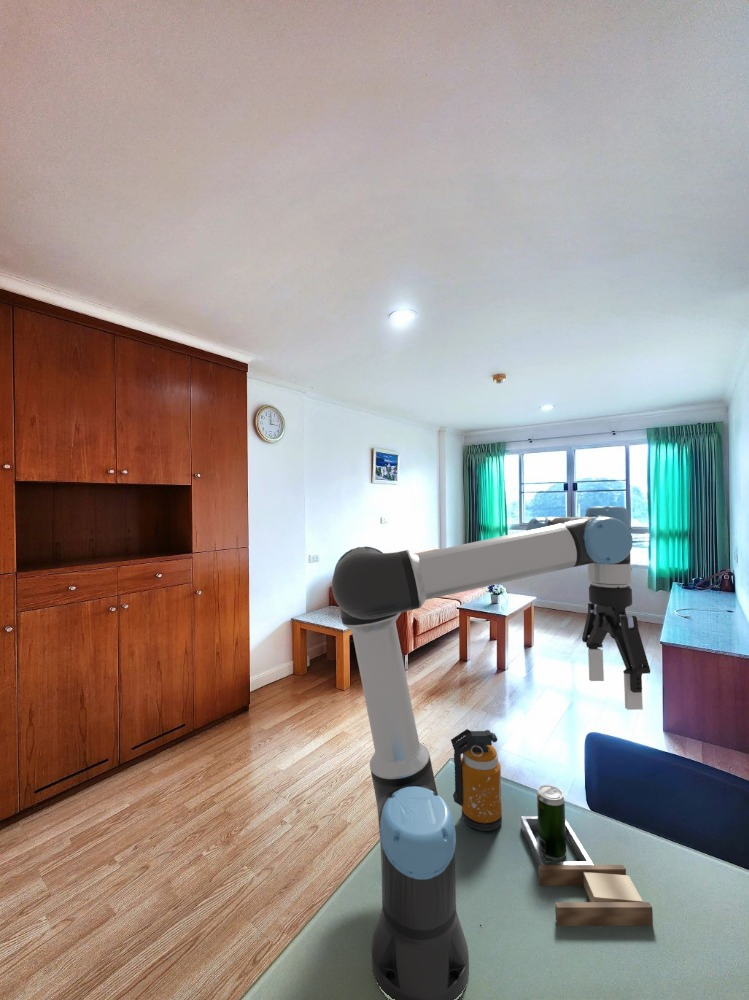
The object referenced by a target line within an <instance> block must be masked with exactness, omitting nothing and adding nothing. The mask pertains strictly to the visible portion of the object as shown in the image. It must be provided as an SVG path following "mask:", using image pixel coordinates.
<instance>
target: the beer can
mask: <svg viewBox="0 0 749 1000" xmlns="http://www.w3.org/2000/svg"><path fill="white" fill-rule="evenodd" d="M563 793H564V792H563V791H562V790H561V789H560V788H558V787H557V786H555V785H550V784H542V785H540V786H539V787H538V788H537V793H536V805H537V806H536V807H537V809H536V810H537V811H536V812H537V816H538V830H537V833H538V834H537V835H538V837H537V838H538V846H539V848H540V850H541V852H542V854H543V856H544V857H545V858H548V859H550V860H552V861H560V860H563V859H565V856H566V854H567V838H566V828H565V819H566V807H565V806H566V804H565V802H566V801H565V798H564V794H563Z"/></svg>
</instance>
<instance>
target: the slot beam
mask: <svg viewBox="0 0 749 1000" xmlns="http://www.w3.org/2000/svg"><path fill="white" fill-rule="evenodd" d="M537 866H538V883H539V885H540V886H541V887H542V886H543V887H567V886H568V887H570V886H571V887H584V875H583V872H592V873H604V874H617V875H627V869H626V866H625V865H624V864H593V865H538V864H537ZM554 909H555V910H554V912H555V922H556V924H557V927H561V926H562V927H565V926H567V927H572V926H573V927H574V926H575V927H576V926H578V927H579V926H580V927H581V926H583V927H586V926H587V927H589V926H590V927H596V926H597V927H598V926H600V927H601V926H603V927H609V926H610V927H611V926H615V927H616V926H617V927H618V926H619V927H620V926H622V927H624V926H625V927H628V926H629V927H636V926H637V927H640V926H641V927H643V926H644V927H645V926H647V927H649V926H650V927H651V926H654V920H653V919H654V917H653V906H652V905H651V904H650V902H648V901H643V902H590V901H587V902H586V901H582V902H581V901H575V902H574V901H571V902H570V901H568V902H567V901H566V902H565V901H564V902H563V901H562V902H561V901H560V902H559V901H556V902H554Z"/></svg>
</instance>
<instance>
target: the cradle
mask: <svg viewBox="0 0 749 1000" xmlns="http://www.w3.org/2000/svg"><path fill="white" fill-rule="evenodd" d="M520 828H521V830H522V833H523V836H524V837H525V839H526V843H527V844H528V846H529V848H530V850H531V853H532V855H533V858H534V859H535V862H536V864H537V866H538V865H594V863H593V861H592V860H591V858H590V856H589V855H588V853H587V851H586V850H585V848H584V847H583V845H582V843H581V842H580V840H579V839H578V837H577V835H576V833H575V832H574V830H573V829H572V826H571V825H570V823H569V822H568V821H567V819H566V818H565V828H566V837H567V838H566V840H567V841H568V843H569V844H571V845H570V846H571V848H572V850H573V849H574V850H573V852H574V851H575V852H574V853H575V855H576V856H577V858H578V860H579V861H546V859H545V858H546V857H545V856H544V855H543V854H542V852H541V850H540V848H539V843H538V842H537V840H536V838H535V835H534V834H533V831H538V815H536V816H535V815H533V816H532V815H531V816H527V815H526V816H525V815H524V816H523V815H522V816H520Z"/></svg>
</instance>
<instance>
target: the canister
mask: <svg viewBox="0 0 749 1000" xmlns="http://www.w3.org/2000/svg"><path fill="white" fill-rule="evenodd" d="M450 742H451V744H452V748H453V750H454V751H453V764H454V792H453V793H452V797H453V801H454V803H456V804H458V805H459V806H461V818H462V819H463V821H464V822H465V824H467V825H468V826H469V827H471V828H473V829H476V830H479V831H493V830H496V829H498V828H499V827H500V826H501V825H502V822H503V814H502V813H503V809H502V808H503V807H502V805H503V804H502V775H501V769H502V768H501V763H500V761H499V753H498V751H497V750H496V748H495V747H494V746H493V745H492V743H496V742H498V737H497V736H496V733H494V732H491V730H489V729H486V730H470V729H468V728H466V729H465V730H463V731H462V732H460V733H458V734H457V735H455V736H454V737H453V738H451V739H450Z"/></svg>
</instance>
